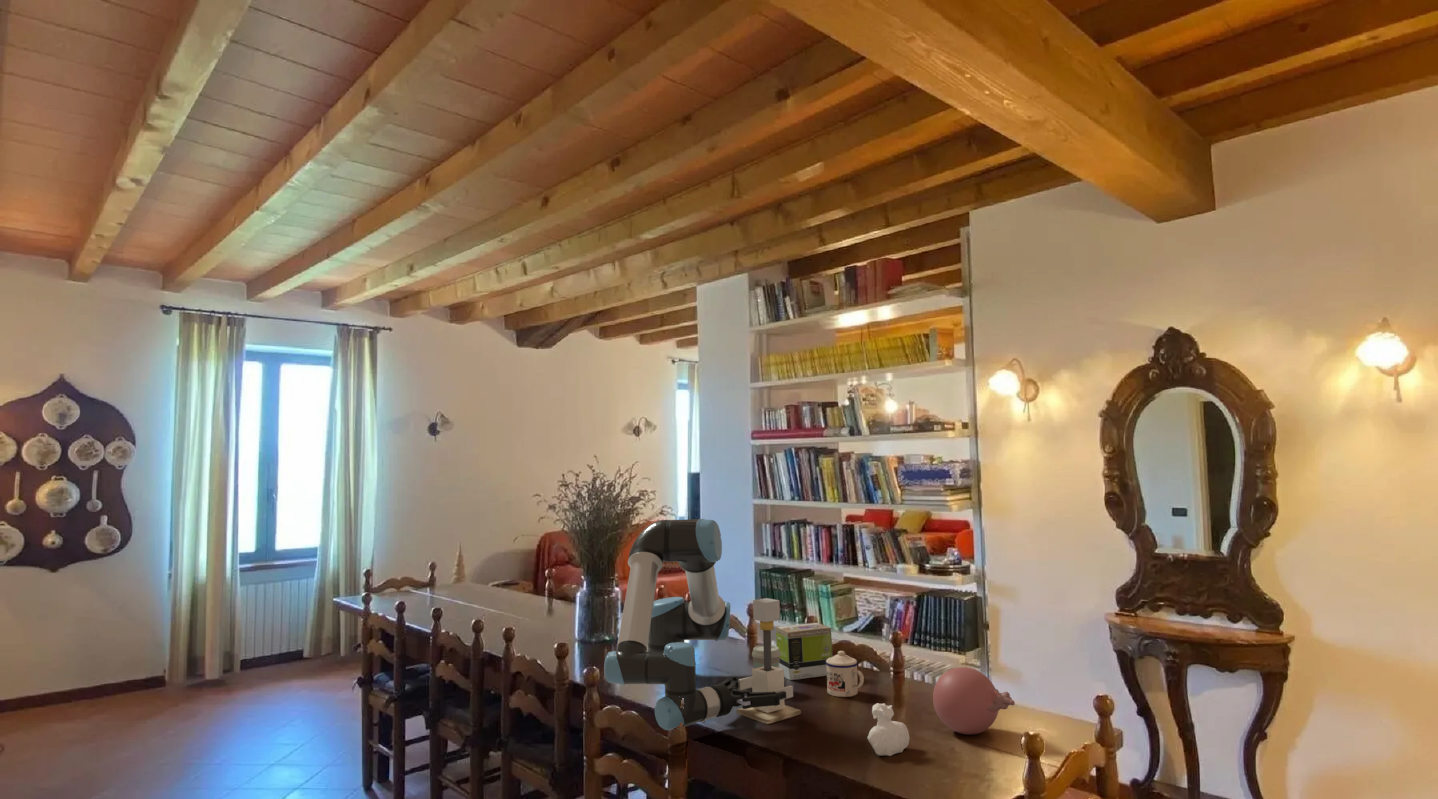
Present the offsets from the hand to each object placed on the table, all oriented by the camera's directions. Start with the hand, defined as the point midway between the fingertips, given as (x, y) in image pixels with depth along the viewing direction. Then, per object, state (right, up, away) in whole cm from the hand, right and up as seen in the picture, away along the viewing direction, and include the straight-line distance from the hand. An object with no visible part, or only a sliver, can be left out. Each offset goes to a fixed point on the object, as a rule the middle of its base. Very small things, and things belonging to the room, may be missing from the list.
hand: (774, 685), depth 209 cm
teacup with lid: (+22, -8, +15) cm, 27 cm away
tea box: (+12, -10, +36) cm, 39 cm away
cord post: (-2, -7, -2) cm, 7 cm away
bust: (+24, -4, -30) cm, 38 cm away
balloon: (+47, -5, -20) cm, 52 cm away
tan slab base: (-2, -7, -2) cm, 7 cm away
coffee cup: (-1, -9, +20) cm, 22 cm away
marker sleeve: (-2, -5, -2) cm, 6 cm away
